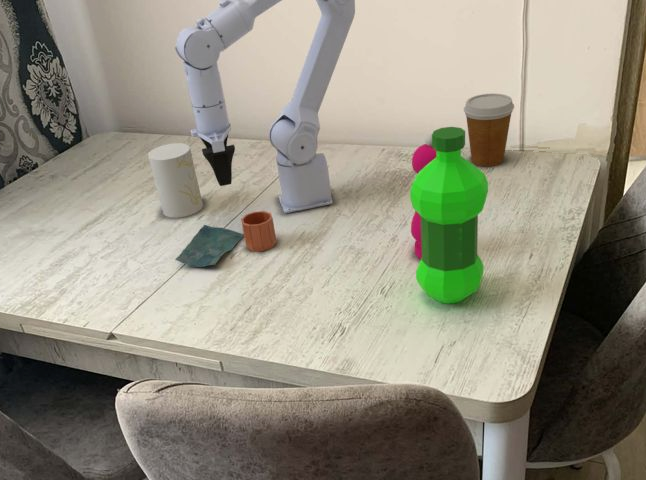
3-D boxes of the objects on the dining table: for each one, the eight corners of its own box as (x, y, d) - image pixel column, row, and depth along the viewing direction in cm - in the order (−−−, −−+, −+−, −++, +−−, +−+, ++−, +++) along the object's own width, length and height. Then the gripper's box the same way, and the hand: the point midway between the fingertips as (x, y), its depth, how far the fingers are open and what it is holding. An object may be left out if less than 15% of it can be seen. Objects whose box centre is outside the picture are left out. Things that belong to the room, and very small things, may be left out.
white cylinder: (195, 217, 143) (181, 158, 136) (157, 218, 145) (141, 160, 138) (208, 198, 149) (195, 142, 142) (171, 200, 151) (156, 144, 144)
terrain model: (206, 232, 136) (204, 223, 135) (244, 236, 134) (243, 227, 133) (175, 268, 127) (173, 258, 126) (216, 272, 125) (214, 263, 123)
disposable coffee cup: (475, 148, 153) (476, 91, 146) (519, 154, 148) (522, 94, 141) (455, 166, 147) (455, 107, 140) (500, 172, 142) (502, 111, 135)
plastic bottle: (411, 279, 114) (404, 123, 100) (479, 273, 113) (483, 115, 99) (417, 315, 106) (411, 151, 92) (491, 309, 105) (496, 142, 91)
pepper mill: (428, 268, 117) (425, 148, 105) (403, 250, 122) (397, 135, 110) (465, 253, 119) (465, 134, 107) (438, 237, 124) (436, 122, 113)
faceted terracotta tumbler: (273, 234, 133) (269, 208, 130) (278, 248, 128) (274, 221, 125) (244, 240, 132) (239, 214, 129) (248, 254, 128) (243, 228, 125)
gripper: (182, 94, 131) (198, 166, 139) (187, 119, 119) (204, 196, 127) (221, 87, 131) (235, 159, 139) (230, 111, 120) (244, 188, 128)
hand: (223, 176), depth 133 cm, fingers open, 7 cm apart
